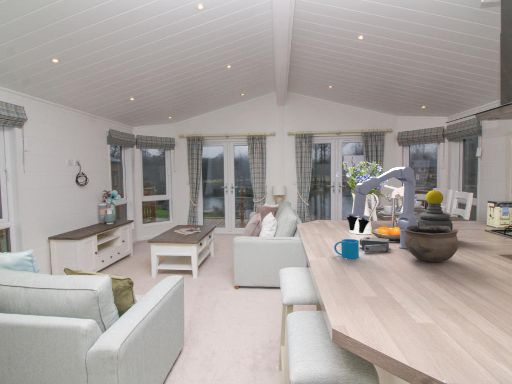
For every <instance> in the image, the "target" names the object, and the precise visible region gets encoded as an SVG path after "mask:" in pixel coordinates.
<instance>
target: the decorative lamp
mask: <svg viewBox="0 0 512 384" xmlns="http://www.w3.org/2000/svg"><path fill="white" fill-rule="evenodd" d="M425 200H426V202H427V204H428V205H427V207H426V210H425V212H421V213H420V214H419V218H417V223H418V226H422V225H424V226H446V227H450V230H451V231H453V230H454V229H453V222H452V221H453V220H452V219H450V218H451V215H450V214H449V213H445V212H444V210H443V208H442V203H443V201H444V194H443V193H442V192H441V191H440V190H436V189H434V190H430V191H428V192H427V193H426V195H425Z"/></svg>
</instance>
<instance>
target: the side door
mask: <svg viewBox="0 0 512 384" xmlns="http://www.w3.org/2000/svg"><path fill="white" fill-rule="evenodd" d="M363 250H364V254H365V253H376V252H377V253H379V252H389V250H388V244H381V245H365V246H364V249H363Z"/></svg>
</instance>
